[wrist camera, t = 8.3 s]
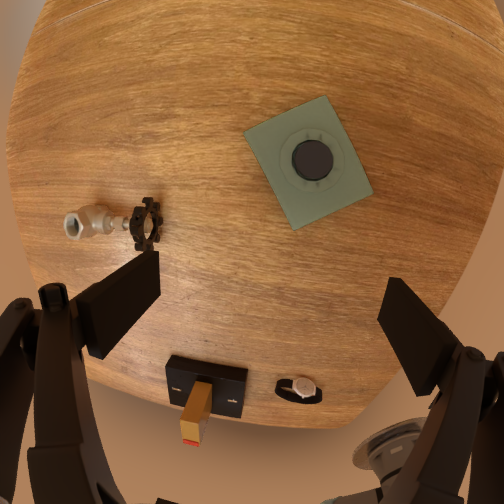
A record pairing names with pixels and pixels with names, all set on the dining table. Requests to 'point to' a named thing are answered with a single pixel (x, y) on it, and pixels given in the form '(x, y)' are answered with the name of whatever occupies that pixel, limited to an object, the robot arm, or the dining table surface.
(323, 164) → the bell button
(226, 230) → the dining table surface
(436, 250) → the dining table surface
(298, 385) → the watch
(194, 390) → the lock knob
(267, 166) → the doorbell
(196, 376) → the plate
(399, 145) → the dining table surface
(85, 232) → the valve
